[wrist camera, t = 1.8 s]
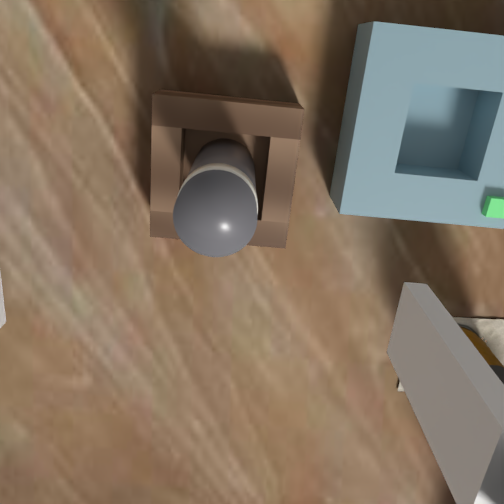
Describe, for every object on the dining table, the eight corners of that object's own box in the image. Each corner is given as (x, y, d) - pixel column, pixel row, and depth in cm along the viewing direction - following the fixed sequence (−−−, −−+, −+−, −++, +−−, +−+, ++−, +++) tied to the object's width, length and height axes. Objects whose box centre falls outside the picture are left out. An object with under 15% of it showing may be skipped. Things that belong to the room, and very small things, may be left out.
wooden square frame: (161, 89, 31) (152, 93, 28) (299, 103, 31) (304, 109, 28) (158, 220, 35) (149, 236, 32) (282, 231, 35) (285, 248, 32)
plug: (195, 134, 31) (173, 171, 22) (258, 140, 31) (262, 180, 22) (192, 195, 33) (170, 254, 23) (252, 200, 33) (254, 261, 24)
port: (358, 24, 30) (376, 20, 25) (530, 43, 30) (576, 42, 26) (329, 195, 34) (341, 216, 30) (480, 209, 34) (513, 232, 30)
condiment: (411, 314, 38) (479, 424, 27) (517, 318, 38) (627, 429, 27) (396, 389, 41) (451, 516, 30) (494, 392, 41) (585, 519, 30)
